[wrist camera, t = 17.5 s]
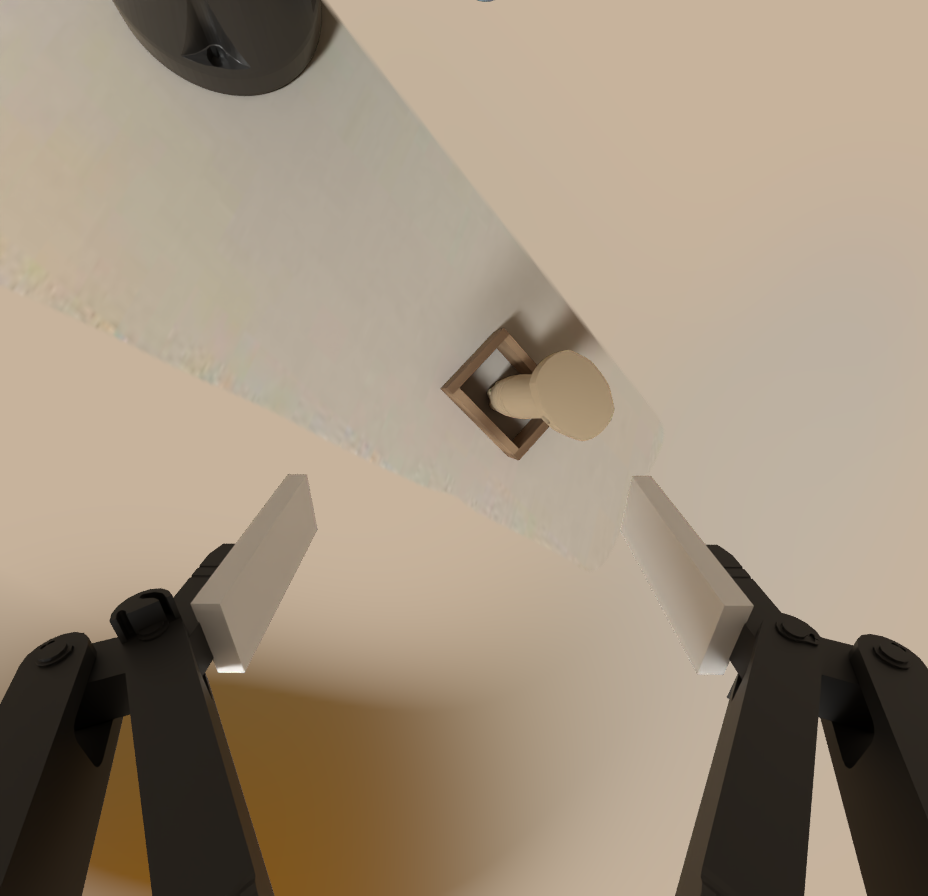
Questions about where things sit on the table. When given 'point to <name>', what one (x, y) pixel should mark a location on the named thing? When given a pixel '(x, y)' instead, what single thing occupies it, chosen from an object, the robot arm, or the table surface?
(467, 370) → the socket block
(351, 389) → the table surface
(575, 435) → the handle
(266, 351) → the table surface
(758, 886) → the robot arm
